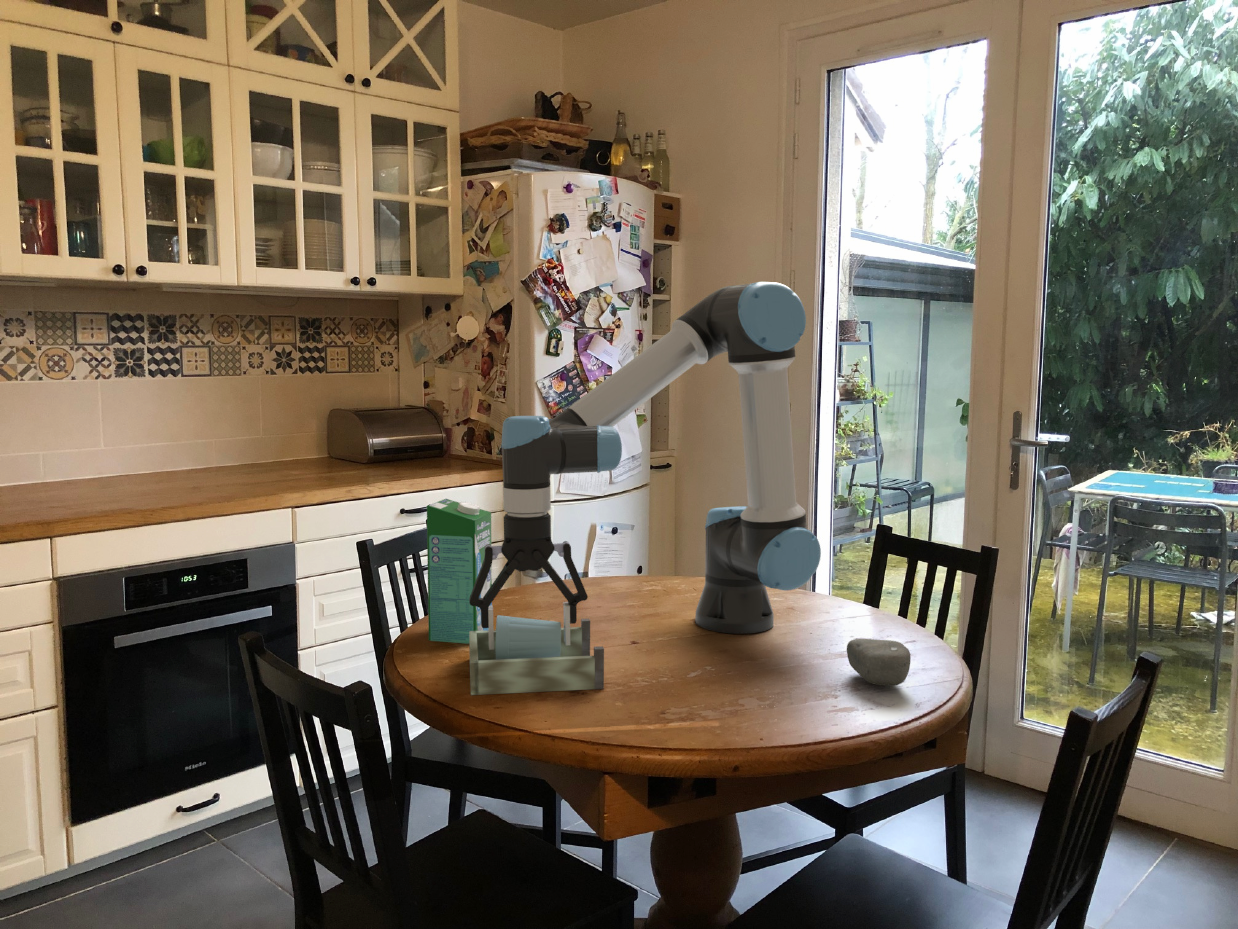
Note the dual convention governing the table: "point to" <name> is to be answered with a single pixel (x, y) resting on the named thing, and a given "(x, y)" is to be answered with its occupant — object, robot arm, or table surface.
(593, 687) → the bay
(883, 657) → the stone
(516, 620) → the cup
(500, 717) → the table surface
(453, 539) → the milk carton
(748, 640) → the table surface
